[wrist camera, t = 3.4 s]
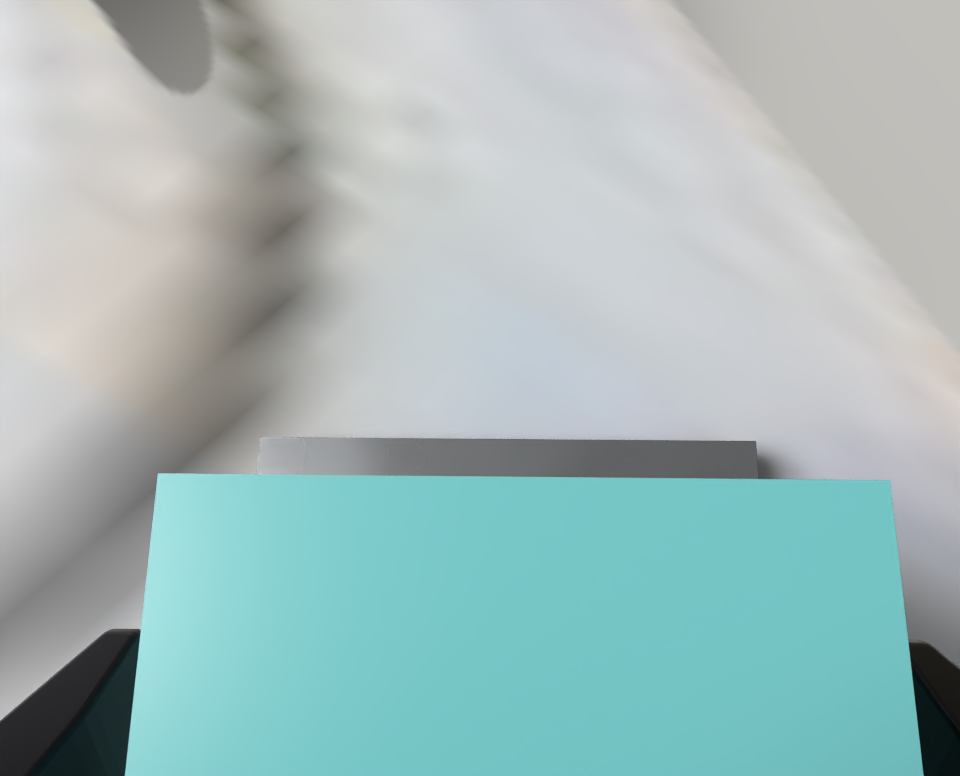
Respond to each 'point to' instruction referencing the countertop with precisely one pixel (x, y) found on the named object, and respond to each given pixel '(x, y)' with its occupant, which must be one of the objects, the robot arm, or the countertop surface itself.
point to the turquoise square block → (522, 628)
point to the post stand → (508, 458)
